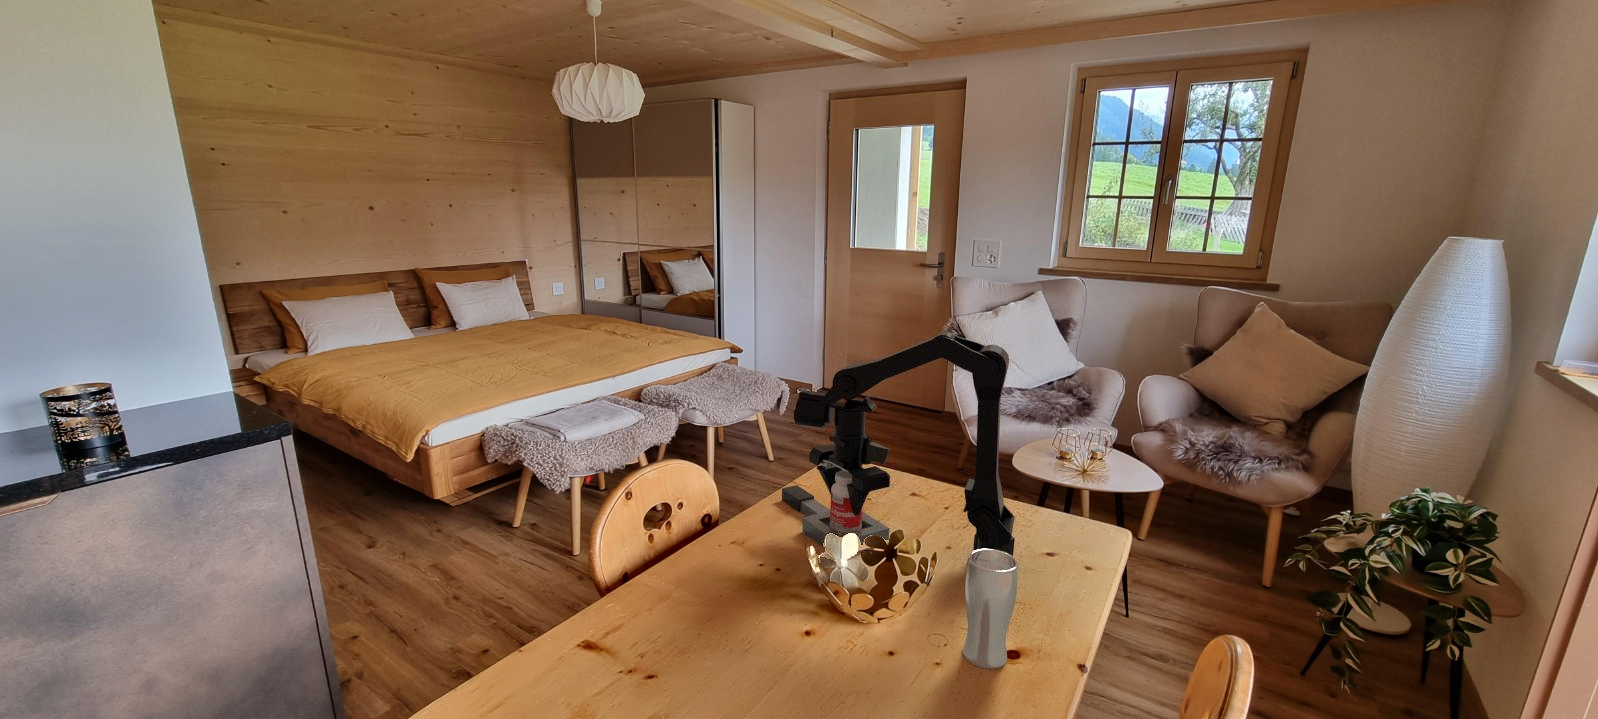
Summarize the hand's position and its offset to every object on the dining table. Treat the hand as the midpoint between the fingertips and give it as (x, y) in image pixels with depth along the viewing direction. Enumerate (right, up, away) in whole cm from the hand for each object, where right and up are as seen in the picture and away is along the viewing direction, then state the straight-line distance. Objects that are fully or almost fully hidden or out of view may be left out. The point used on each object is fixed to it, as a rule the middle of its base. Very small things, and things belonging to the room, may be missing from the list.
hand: (846, 508), depth 133 cm
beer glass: (+17, -14, -34) cm, 41 cm away
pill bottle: (0, -4, +1) cm, 4 cm away
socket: (-4, -4, +8) cm, 10 cm away
